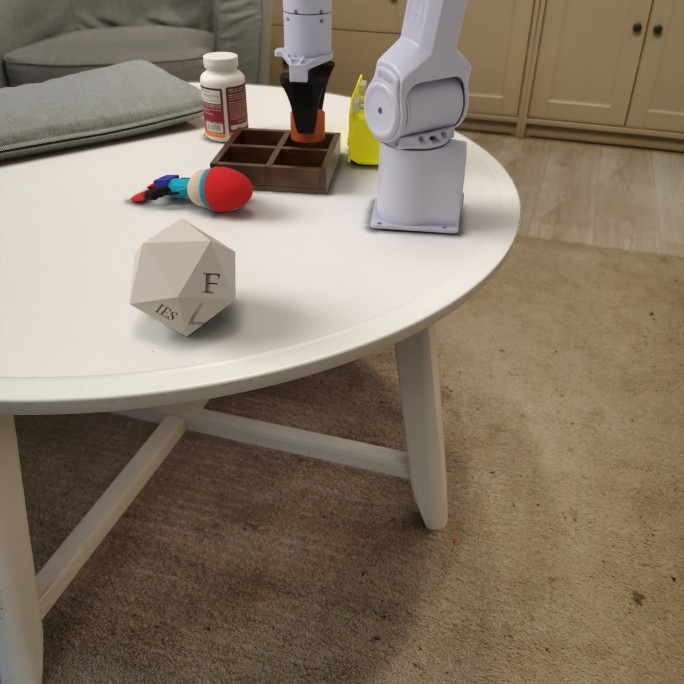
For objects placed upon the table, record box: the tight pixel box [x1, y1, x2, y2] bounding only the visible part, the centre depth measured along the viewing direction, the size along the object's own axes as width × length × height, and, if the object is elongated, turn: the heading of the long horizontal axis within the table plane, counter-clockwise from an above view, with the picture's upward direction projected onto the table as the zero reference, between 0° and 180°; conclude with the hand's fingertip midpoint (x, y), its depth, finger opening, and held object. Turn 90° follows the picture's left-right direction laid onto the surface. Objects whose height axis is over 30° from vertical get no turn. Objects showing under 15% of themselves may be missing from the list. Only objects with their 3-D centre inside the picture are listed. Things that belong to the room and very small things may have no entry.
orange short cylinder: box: [289, 109, 326, 143], centre depth 91 cm, size 4×4×3 cm
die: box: [129, 217, 237, 338], centre depth 59 cm, size 8×9×10 cm
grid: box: [209, 127, 342, 195], centre depth 90 cm, size 14×14×3 cm
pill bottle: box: [199, 51, 250, 143], centre depth 99 cm, size 6×6×11 cm
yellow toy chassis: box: [347, 74, 380, 166], centre depth 96 cm, size 16×6×8 cm, turn 173°
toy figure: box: [130, 167, 254, 213], centre depth 81 cm, size 8×5×15 cm
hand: (308, 126), depth 91 cm, fingers closed on orange short cylinder, 4 cm apart
